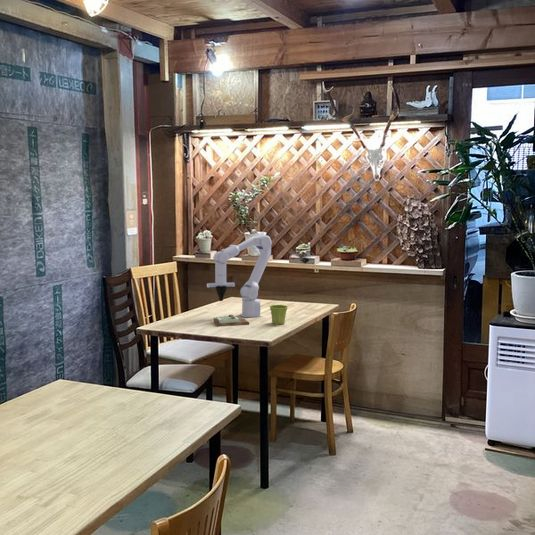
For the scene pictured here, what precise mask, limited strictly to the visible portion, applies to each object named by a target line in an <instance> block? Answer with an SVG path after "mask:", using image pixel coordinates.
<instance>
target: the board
mask: <svg viewBox="0 0 535 535" xmlns="http://www.w3.org/2000/svg"><path fill="white" fill-rule="evenodd" d="M228 316H230V317H231V318H232V319H235V318H236V317H237V316H236V315H234V314H228ZM213 323H214V325H215V326H217V327H227V326H226V325H230V326H244V325H245V326H246V325H250V321H248V320H247V319H245V318H239V322H233V323H219V321H218V320H217V319H216V317H213Z"/></svg>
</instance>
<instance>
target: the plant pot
mask: <svg viewBox="0 0 535 535" xmlns="http://www.w3.org/2000/svg"><path fill="white" fill-rule="evenodd" d="M269 308H270V314H271V321H272V322H271V323H272V324H274V325H283V324H285V322H286V316H287V311H288V308H289V306H288V305H284V304H271V305H269Z"/></svg>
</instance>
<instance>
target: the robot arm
mask: <svg viewBox="0 0 535 535" xmlns="http://www.w3.org/2000/svg"><path fill="white" fill-rule="evenodd" d="M272 244H273V241H272V239H271V237H270V236H269V235H265V234H264V235H263V234H256V235H253V236H251V237H250V238H248V239H246V240H244V241H242V242H241V243H239V244H237V245H235V244H230V245H229V246H228V247H226V248H222V249H221V251H216V252H215V253H214V256H213V257H212V258H213V260H214V264H215V266H214V269H215V270H214V271H215V272H214V274H215V275H214V277H215V279H214V282H207V283H206V288H208V289H209V288H215V290H216V291H215V292H216V293H217V296H218V300H219V302H223V301H224V296H225V293H226V291H227V289H228V288H227V287H229V288H230V287H232V288H233V287H234V288H235V286H236V283H235V282H227V262H229V260H230V259H233V258H235V257H236V256H238V255H239V254H240V252H241V251H243V250H245V249H248V248H250V247H252V246H255V248H257V250H258V252H259V255H258V259H257V260H256V263H255V265H254V267H253V270H252V272H251V274H250V277H249V279H248V280H247V281H246V282H245V283H244V285H243V286H242V287H240V290H239V295H240V296H241V297H242V298H241V300H242V302H241V312H242V313H239V315H240V317H241V316H242V317H243V318H256V317H258V318H259V317H261V301H260V299H259V298H258V295H259V289H260V286H259V283H260V280H261V279H262V276H263V274H264V271H265V269H266V267H267V265H268V262H269V260H270V258H271V255H272Z"/></svg>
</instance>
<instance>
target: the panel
mask: <svg viewBox="0 0 535 535" xmlns="http://www.w3.org/2000/svg"><path fill="white" fill-rule="evenodd" d="M215 319H217V320H218V321H219V323H233V322H239V319H240V318H239V317H237V316H236V318H235V319H232V318H231V317H230V316H229V315H227V316H226V315H225V316H215Z"/></svg>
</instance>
